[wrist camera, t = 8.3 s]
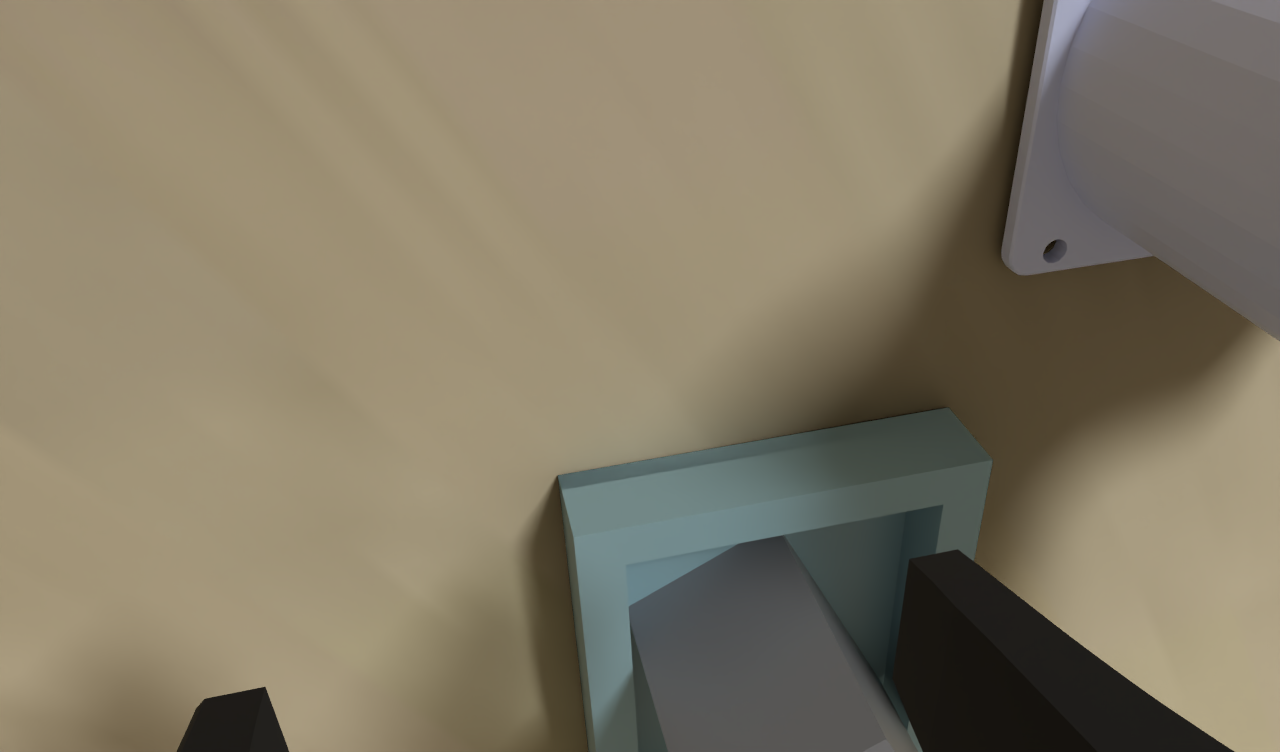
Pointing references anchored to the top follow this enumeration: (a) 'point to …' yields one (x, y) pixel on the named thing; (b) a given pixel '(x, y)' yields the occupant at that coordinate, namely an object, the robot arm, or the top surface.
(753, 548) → the block
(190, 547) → the top surface
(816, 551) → the service tray
